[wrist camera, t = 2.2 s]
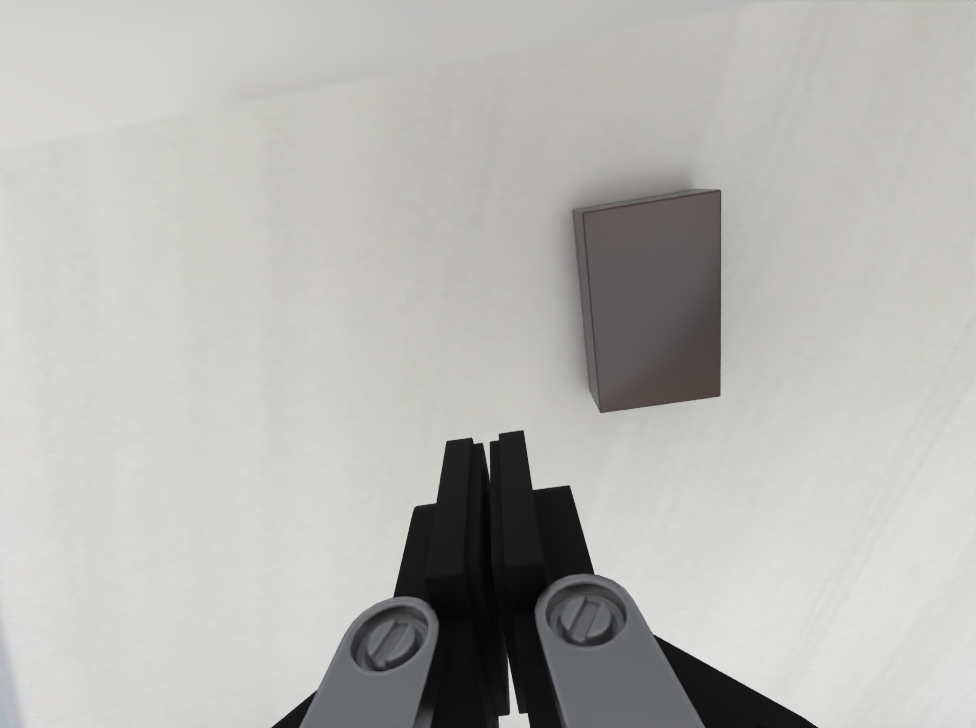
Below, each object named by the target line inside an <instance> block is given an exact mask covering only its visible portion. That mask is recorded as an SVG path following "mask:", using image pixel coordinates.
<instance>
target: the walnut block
mask: <svg viewBox="0 0 976 728" xmlns="http://www.w3.org/2000/svg"><path fill="white" fill-rule="evenodd" d="M573 220H574V231H575V241H576V252H577V262H578V272H579V283H580V293H581V304H582V314H583V325H584V335H585V346H586V356H587V367H588V377H589V387H590V393H591V395H592V397H593V399H594V401H595V403H596V405H597V407H598V409H599V412H600V413H605V412H612V411H619V410H626V409H633V408H640V407H648V406H655V405H662V404H669V403H676V402H683V401H691V400H698V399H705V398H712V397H719V396H720V366H721V190H712V189H694V190H688V191H682V192H676V193H670V194H664V195H658V196H652V197H645V198H639V199H633V200H627V201H621V202H615V203H609V204H603V205H597V206H591V207H585V208H579V209H574V210H573Z"/></svg>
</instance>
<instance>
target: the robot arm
mask: <svg viewBox="0 0 976 728" xmlns="http://www.w3.org/2000/svg"><path fill="white" fill-rule="evenodd" d="M507 654H508V655H507ZM508 659H509V664H510V669H511V674H512V679H513V684H514V689H515V694H516V700H517V705H518V710H519V713H520V714H523V713H528V718H529V723H530V728H818V727H816V726H815V725H813V724H812V723H810V722H809V721H808V720H806V719H805V718H803V717H801V716H799V715H798V714H796V713H794V712H792V711H790V710H789V709H787V708H785V707H783V706H781V705H780V704H778V703H776V702H774V701H772V700H771V699H769V698H767V697H765V696H763V695H762V694H760V693H758V692H756V691H754V690H753V689H751V688H749V687H747V686H745V685H744V684H742V683H740V682H738V681H736V680H735V679H733V678H731V677H729V676H727V675H726V674H724V673H722V672H720V671H718V670H717V669H715V668H713V667H711V666H709V665H708V664H706V663H704V662H702V661H700V660H699V659H697V658H695V657H693V656H691V655H690V654H688V653H686V652H684V651H682V650H681V649H679V648H677V647H675V646H673V645H672V644H670V643H668V642H666V641H664V640H663V639H661V638H659V637H657V636H655V635H654V634H652V632H651V630H650V628H649V627H648V625H647V623H646V621H645V619H644V618H643V616H642V614H641V612H640V611H639V609H638V607H637V605H636V603H635V602H634V600H633V598H632V597H631V596H630V595H629V593H628V592H627V591H626V590H625V588H623V587H622V586H620V585H619V584H617V583H616V582H614V581H613V580H611V579H608V578H605V577H602V576H600V575H595V574H594V570H593V567H592V563H591V560H590V556H589V553H588V549H587V545H586V542H585V538H584V535H583V531H582V527H581V524H580V520H579V517H578V513H577V510H576V506H575V502H574V499H573V495H572V492H571V488H570V486H569V485H567V486H560V487H553V488H545V489H538V490H532V483H531V477H530V470H529V463H528V457H527V450H526V443H525V437H524V430H522V431H515V432H508V433H501V434H499V441H491V442H490V479H489V473H488V468H487V462H486V457H485V451H484V446H483V443H477V444H474V442H473V439H472V438H466V439H459V440H452V441H447V442H446V447H445V454H444V460H443V466H442V472H441V478H440V484H439V490H438V497H437V503H435V504H428V505H421V506H416V507H415V508H414V511H413V514H412V519H411V523H410V527H409V532H408V536H407V540H406V545H405V549H404V553H403V558H402V562H401V566H400V571H399V575H398V579H397V584H396V588H395V592H394V597H393V598H390V599H387V600H384V601H382V602H379V603H377V604H375V605H373V606H372V607H370V608H369V609H367V610H365V611H364V612H363V613H362V614H361V615H360V616H359V617H357V618H356V619H355V620H354V621H353V622H352V624H351V625H350V627H349V628H348V630H347V631H346V633H345V634H344V636H343V638H342V641H341V643H340V645H339V647H338V649H337V651H336V653H335V655H334V657H333V659H332V661H331V663H330V665H329V667H328V670H327V672H326V674H325V676H324V678H323V680H322V682H321V684H320V686H319V688H318V690H316V691H315V692H314V693H313V694H312V695H310V696H309V697H308V698H307V699H306V700H304V701H303V702H302V703H301V704H300V705H298V706H297V707H296V708H295V709H294V710H292V711H291V712H290V713H289V714H288V715H286V716H285V717H284V718H283V719H282V720H280V721H279V722H278V723H277V724H276V725H274V726H273V727H272V728H499V719H498V716H505V715H509V714H510V702H509V679H508Z"/></svg>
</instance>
